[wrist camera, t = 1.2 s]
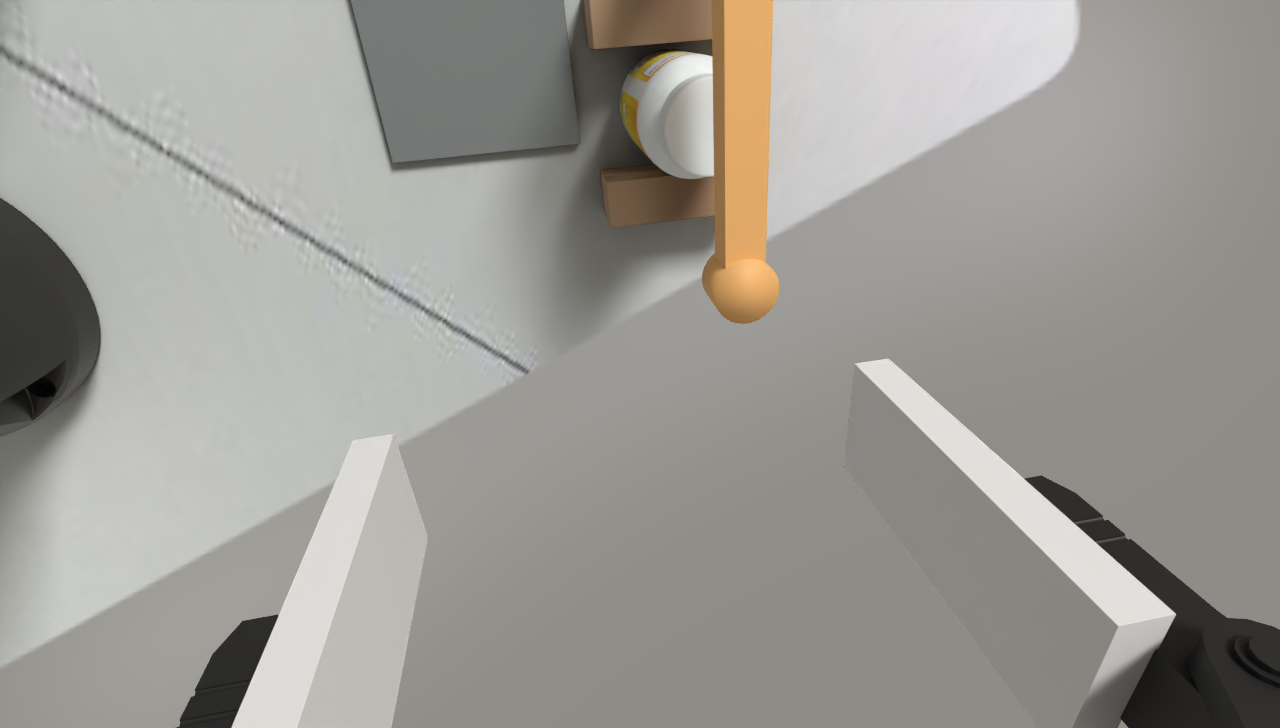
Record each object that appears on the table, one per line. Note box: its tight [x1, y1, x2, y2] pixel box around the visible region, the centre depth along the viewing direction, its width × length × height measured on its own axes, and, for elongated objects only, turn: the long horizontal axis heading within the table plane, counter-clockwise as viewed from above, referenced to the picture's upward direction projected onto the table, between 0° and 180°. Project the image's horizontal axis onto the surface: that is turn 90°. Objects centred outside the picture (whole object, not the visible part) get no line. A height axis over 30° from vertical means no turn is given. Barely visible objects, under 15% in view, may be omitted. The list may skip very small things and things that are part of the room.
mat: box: [351, 0, 580, 163], centre depth 31 cm, size 10×10×1 cm
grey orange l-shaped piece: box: [702, 0, 779, 324], centre depth 26 cm, size 3×17×14 cm, turn 4°
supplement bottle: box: [620, 50, 714, 179], centre depth 30 cm, size 5×5×10 cm
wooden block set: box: [583, 0, 715, 228], centre depth 31 cm, size 8×17×4 cm, turn 4°
